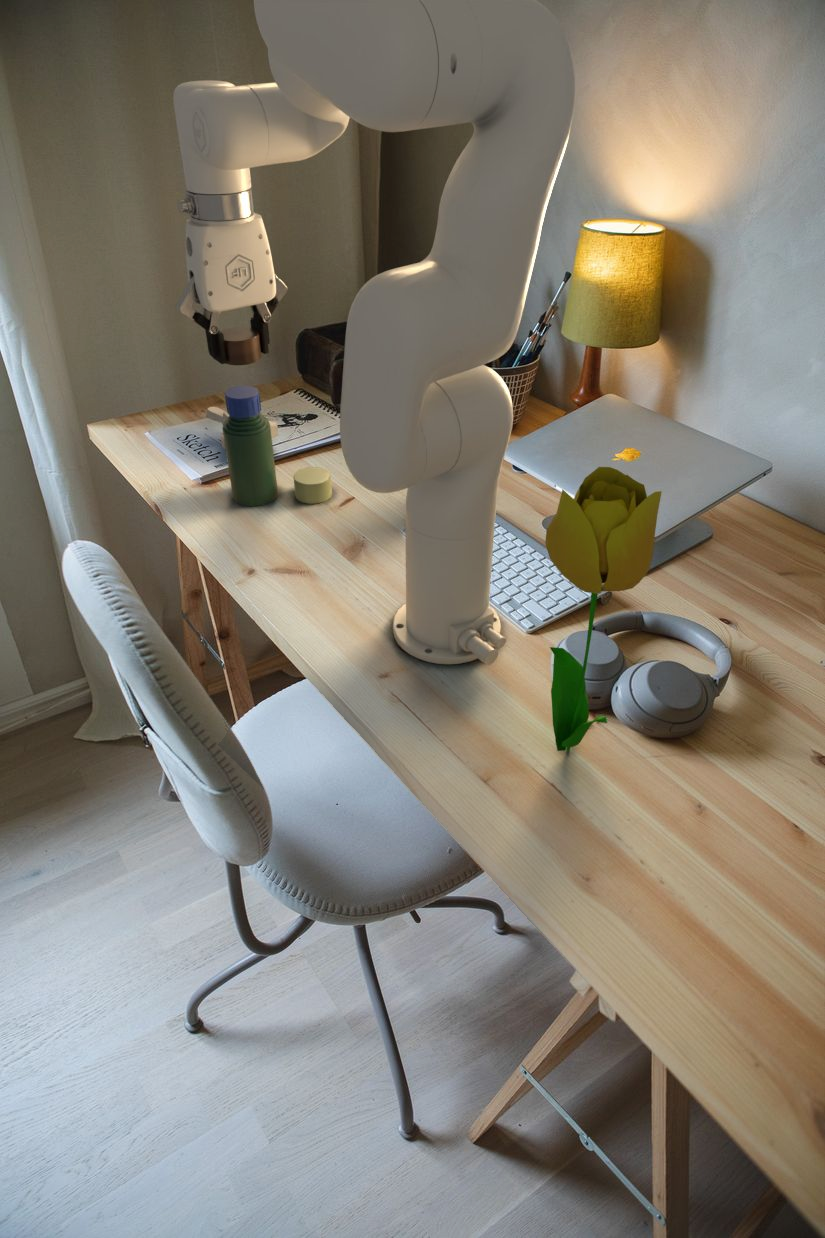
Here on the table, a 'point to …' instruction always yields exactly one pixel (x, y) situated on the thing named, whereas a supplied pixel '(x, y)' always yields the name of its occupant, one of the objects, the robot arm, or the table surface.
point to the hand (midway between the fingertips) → (240, 354)
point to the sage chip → (312, 485)
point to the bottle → (250, 460)
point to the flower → (596, 572)
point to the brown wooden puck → (242, 345)
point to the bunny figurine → (222, 415)
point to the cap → (243, 401)
